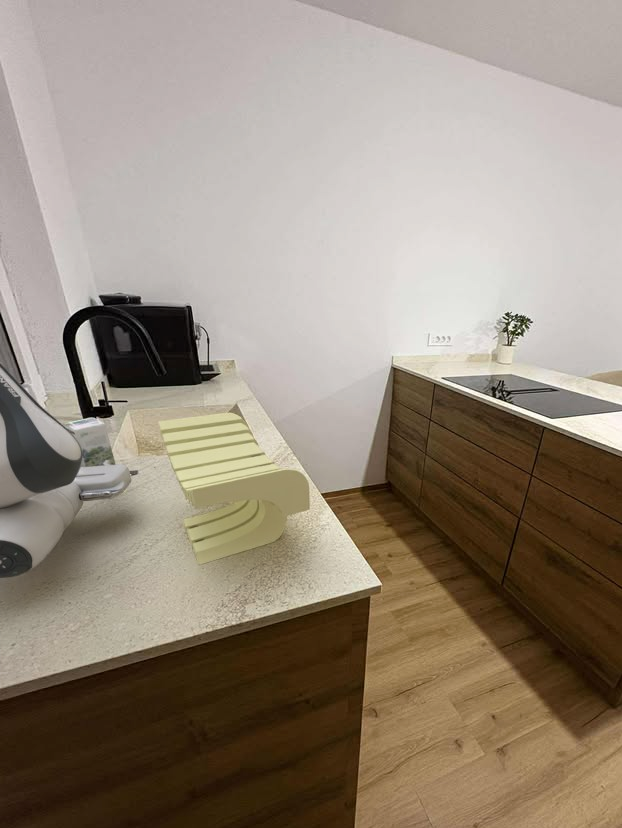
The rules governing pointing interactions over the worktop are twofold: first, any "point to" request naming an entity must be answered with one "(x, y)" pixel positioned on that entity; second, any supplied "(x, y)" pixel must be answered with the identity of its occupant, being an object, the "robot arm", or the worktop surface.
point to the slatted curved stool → (230, 485)
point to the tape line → (133, 472)
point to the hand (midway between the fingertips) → (78, 465)
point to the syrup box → (91, 441)
